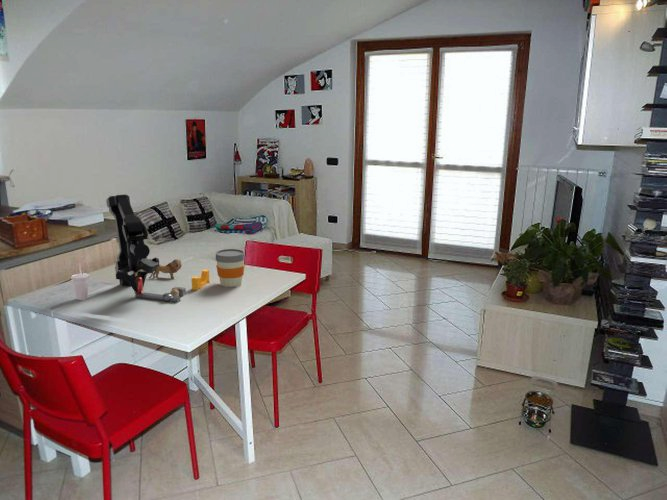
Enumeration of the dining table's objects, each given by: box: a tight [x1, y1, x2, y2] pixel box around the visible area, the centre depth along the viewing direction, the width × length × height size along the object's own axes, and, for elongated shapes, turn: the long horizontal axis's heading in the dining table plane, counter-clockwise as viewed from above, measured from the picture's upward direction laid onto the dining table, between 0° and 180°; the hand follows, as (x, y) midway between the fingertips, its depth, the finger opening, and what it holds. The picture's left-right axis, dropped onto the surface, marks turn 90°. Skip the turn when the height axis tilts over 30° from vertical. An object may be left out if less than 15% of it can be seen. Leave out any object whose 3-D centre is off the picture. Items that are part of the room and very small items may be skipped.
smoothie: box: [70, 264, 90, 301], centre depth 199 cm, size 6×6×14 cm
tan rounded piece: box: [169, 289, 179, 296], centre depth 201 cm, size 4×4×4 cm
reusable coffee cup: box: [215, 248, 246, 288], centre depth 218 cm, size 13×13×15 cm
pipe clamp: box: [191, 269, 210, 291], centre depth 215 cm, size 12×4×6 cm, turn 170°
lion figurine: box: [148, 258, 183, 280], centre depth 225 cm, size 15×5×9 cm, turn 103°
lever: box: [134, 277, 181, 303], centre depth 198 cm, size 19×4×8 cm, turn 75°
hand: (138, 290), depth 200 cm, fingers closed on lever, 3 cm apart
